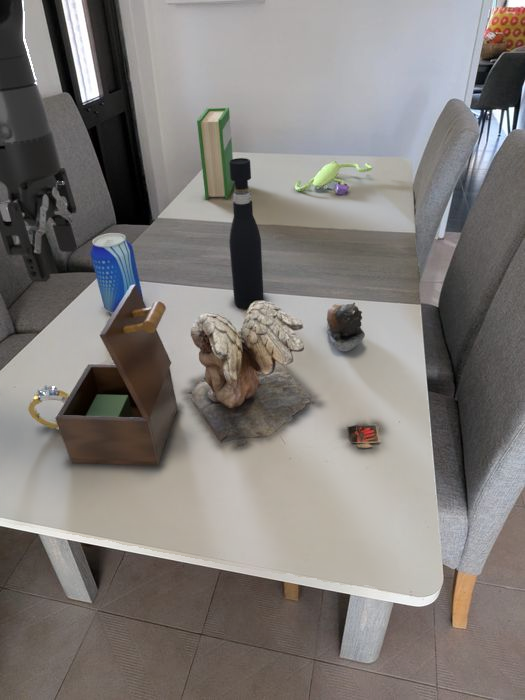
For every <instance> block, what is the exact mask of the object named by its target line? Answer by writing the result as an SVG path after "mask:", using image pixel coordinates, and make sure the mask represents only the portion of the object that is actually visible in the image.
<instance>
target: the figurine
mask: <svg viewBox="0 0 525 700" xmlns="http://www.w3.org/2000/svg"><path fill="white" fill-rule="evenodd" d="M364 166H365V167H366V168H362V167H361V166H360V165H359V164H358V163H350V162H347V163H337V161H335V160H333V161H331V162H330V163H328V164H325V165H324V166H323V167H322V169H320V170H319V171H318V173H317V174H316V175H315V176H314V177H312V178H311V179H310V180H309V181H307V182H306V184H305V185H302V186H300V185H301V183H302V181H301V180H300V179H299V180H297V182H296V184H295V186H294V187H295V191H296V192H302V191H304V190H306V189H309V188H310V187H311V186H312V185H313V186H314V187H315V189H320V188H323V189H324V190H327V189H328V187H329V185H328V184H330V183H331V182H334V183H336V185H335V187H334V188H333V190H334V192H335V194H337V195H345V194H346V193H347V192H348V190H349V189H350V186H349V185H348V183H346V182H345V180H342V179H339V178H336V177H337V175H338V174H339V171H340V169H341V168H356V169H357V171H358V172H359V173H366V172H370V171H372V169H373V165H370V164H369V163H365V165H364Z"/></svg>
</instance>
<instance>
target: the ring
mask: <svg viewBox="0 0 525 700" xmlns="http://www.w3.org/2000/svg"><path fill="white" fill-rule="evenodd" d="M43 386H44V387H42V388H40V389H36V392H35V393H34V394H33V396H32V398H31V399H30V403H29V405H28V407H27V409H28V412H29V415H30V416H31V418H32V419H34V420H35V421H36V422H38V423H39V424H41V425H43V426H45V427H48V428H51V429H56V430H58V431H60V430H59V427H58V424H57V422H56V421H52V420H49V419H47V418H45V417H43V416H42V415H41V414H40V413H39V412H38V409H37V407H36V406H37V405H39V404H41V403H43V402H45V401H59V402H61V403H63V404H64V403H65V402H66V400H67V398H68V397H69V395H70V394H68V393H66V392H65V391H63V390H60V389H58V388H57V387H56V386H54V385H46V384H45V385H43Z"/></svg>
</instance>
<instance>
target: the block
mask: <svg viewBox="0 0 525 700" xmlns="http://www.w3.org/2000/svg"><path fill="white" fill-rule="evenodd" d="M86 416H103V417H134V416H133V412H132V408H131V404H130V400H129V396H128V395H101V394H97V396H96V397H95V399H94V401H93V403H92V405H91V407H90V409H89V410H88V412H87V414H86Z"/></svg>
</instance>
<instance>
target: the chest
mask: <svg viewBox="0 0 525 700" xmlns="http://www.w3.org/2000/svg"><path fill="white" fill-rule="evenodd" d="M97 394H101V395H128V396H129V400H130V404H131V408H132V412H133V416H134V417H103V416H86V414H87V412H88V410H89V409H90V407H91V405H92V403H93V401H94V399H95V397H96V396H97ZM68 395H69V397H68V398H67V400H66V402H65V403H63V405H62V406H61V408H60V410H59V411H58V413H57V415H56V417H55V422H57V424H58V427H59V430H58V431H59V432H60V436H61V438H62V440H63V443H64V446H65V449H66V451H67V453H68V456H69V459H70V462H71V463H76V464H77V463H78V464H98V465H99V464H101V465H103V464H104V465H125V466H127V465H128V466H148V467H151V466H152V467H154V466H155V467H158V466H159V463H160V460H161V457H162V455H163V452H164V448H165V446H166V443H167V440H168V437H169V434H170V431H171V428H172V425H173V422H174V419H175V417H176V413H177V411H178V403H177V399H176V393H175V388H174V382H173V378H172V372H171V367H170V368H169V370H168V373H167V375H166V378H165V380H164V383H163V385H162V388H161V391H160V393H159V396H158V398H157V401H156V403H155V406H154V408H153V411H152V413H151V416H150V419H144V418H143V416H142V414H141V412H140V411H139V409H138V407H137V405H136V403H135V401H134V399H133V397H132V395H131V394H130V392H129V390H128V388H127V386H126V384H125V382H124V380H123V379H122V377H121V375H120V373H119V371H118V369H117V367H116V365H115V364H114V363H113V364H111V363H110V364H109V363H108V364H107V363H106V364H105V363H88V364H87V366H86V368H85V369H84V370H83V372H82V373H81V375H80V377H79V379H78V380H77V382H76V384H75V385H74V387H73V388H72V390H71V392H70V393H69V394H68Z"/></svg>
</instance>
